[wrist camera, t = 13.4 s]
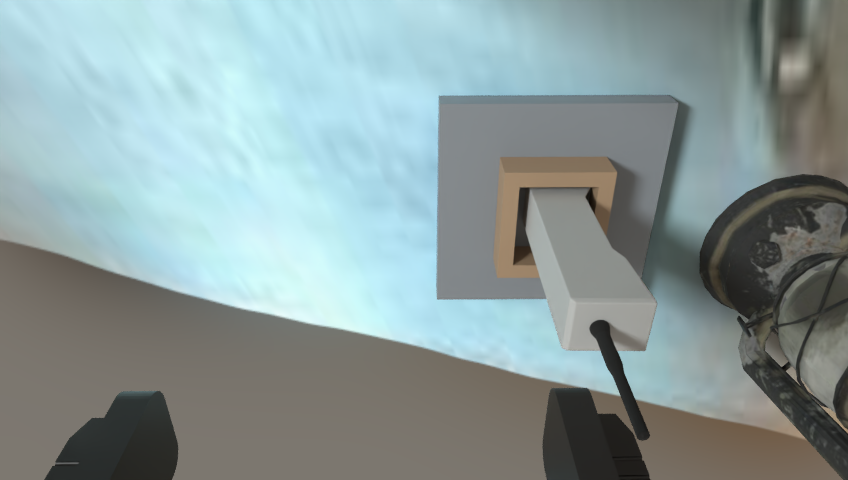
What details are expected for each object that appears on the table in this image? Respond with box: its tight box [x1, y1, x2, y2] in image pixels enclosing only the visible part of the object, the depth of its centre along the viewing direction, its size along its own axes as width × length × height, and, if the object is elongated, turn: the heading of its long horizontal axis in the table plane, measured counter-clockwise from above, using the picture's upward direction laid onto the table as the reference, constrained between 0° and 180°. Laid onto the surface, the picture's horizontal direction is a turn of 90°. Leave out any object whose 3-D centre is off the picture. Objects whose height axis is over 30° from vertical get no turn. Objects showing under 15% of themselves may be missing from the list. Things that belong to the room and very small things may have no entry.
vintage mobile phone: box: [522, 187, 657, 440], centre depth 40 cm, size 4×5×25 cm
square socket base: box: [436, 95, 679, 299], centre depth 51 cm, size 18×18×5 cm
